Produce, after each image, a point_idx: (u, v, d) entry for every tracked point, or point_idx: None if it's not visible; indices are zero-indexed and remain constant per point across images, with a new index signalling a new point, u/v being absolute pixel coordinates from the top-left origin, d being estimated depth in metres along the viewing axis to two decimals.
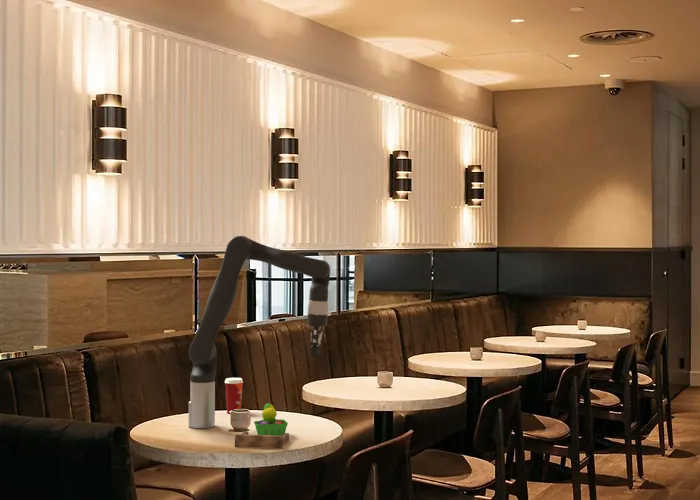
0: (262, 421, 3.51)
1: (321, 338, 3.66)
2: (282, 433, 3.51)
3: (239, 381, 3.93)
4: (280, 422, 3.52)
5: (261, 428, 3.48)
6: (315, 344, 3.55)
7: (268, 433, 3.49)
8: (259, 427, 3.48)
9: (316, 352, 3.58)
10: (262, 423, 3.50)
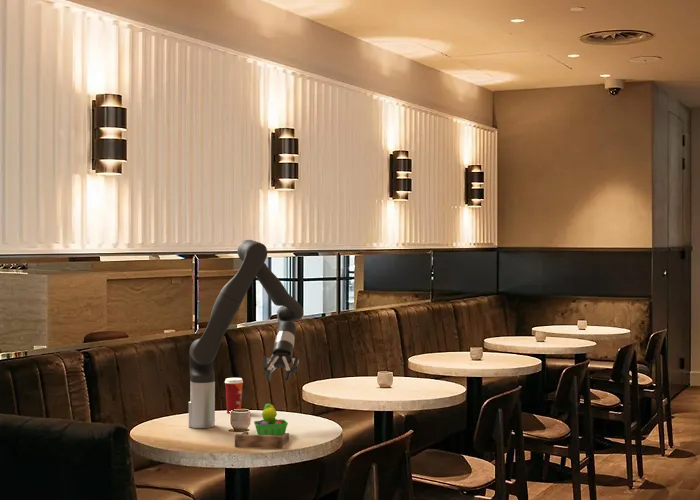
0: (262, 421, 3.51)
1: None
2: (282, 433, 3.51)
3: (239, 381, 3.93)
4: (280, 422, 3.52)
5: (261, 428, 3.48)
6: (295, 370, 3.67)
7: (268, 433, 3.49)
8: (259, 427, 3.48)
9: None
10: (262, 423, 3.50)
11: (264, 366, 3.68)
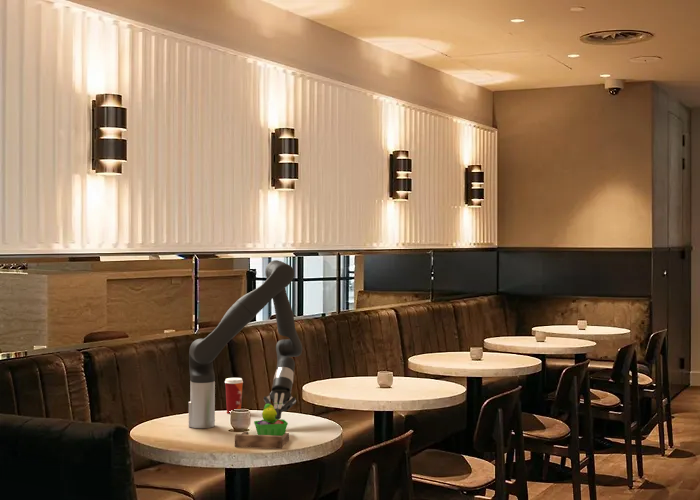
0: (262, 421, 3.51)
1: None
2: (282, 433, 3.51)
3: (239, 381, 3.93)
4: (280, 422, 3.52)
5: (261, 428, 3.48)
6: (286, 409, 3.66)
7: (268, 433, 3.49)
8: (259, 427, 3.48)
9: None
10: (262, 423, 3.50)
11: None
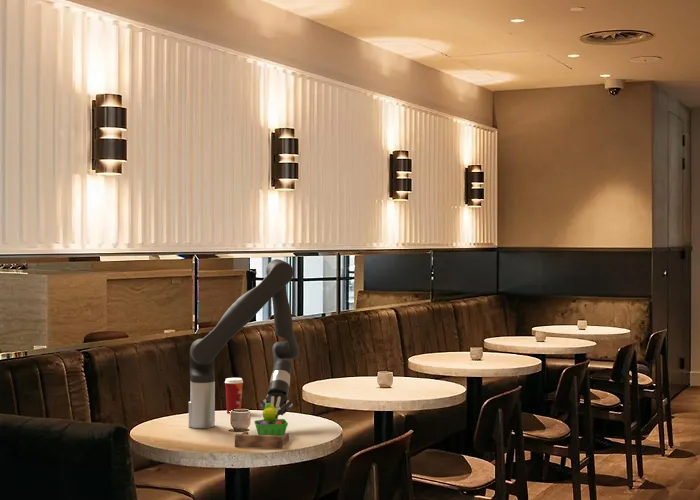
0: (262, 421, 3.50)
1: None
2: (282, 433, 3.50)
3: (239, 381, 3.93)
4: (280, 422, 3.52)
5: (261, 428, 3.48)
6: (283, 412, 3.60)
7: (268, 433, 3.49)
8: (259, 427, 3.47)
9: None
10: (262, 423, 3.50)
11: None
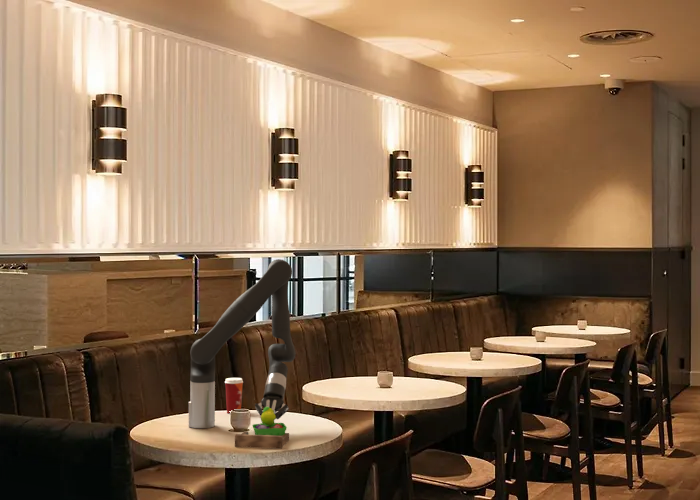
0: (260, 425, 3.43)
1: None
2: None
3: (239, 381, 3.93)
4: (279, 426, 3.45)
5: (259, 432, 3.41)
6: (278, 416, 3.52)
7: None
8: (257, 431, 3.40)
9: None
10: (260, 427, 3.43)
11: (262, 412, 3.52)
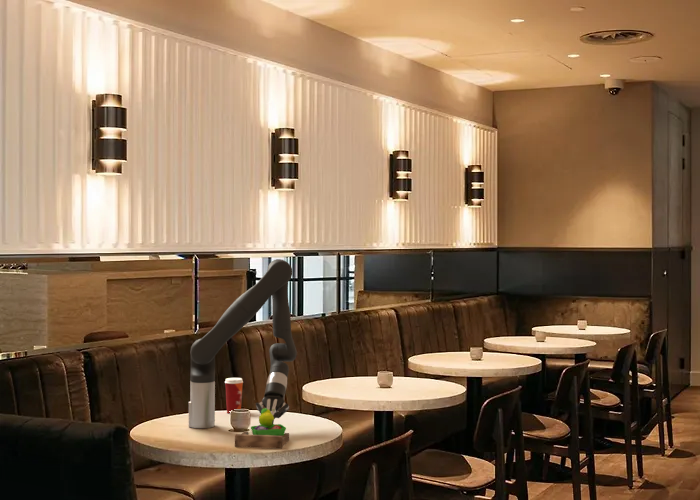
0: (260, 426, 3.41)
1: None
2: None
3: (239, 381, 3.93)
4: (278, 427, 3.43)
5: (259, 433, 3.39)
6: (279, 415, 3.54)
7: None
8: (257, 432, 3.39)
9: None
10: (260, 428, 3.41)
11: None
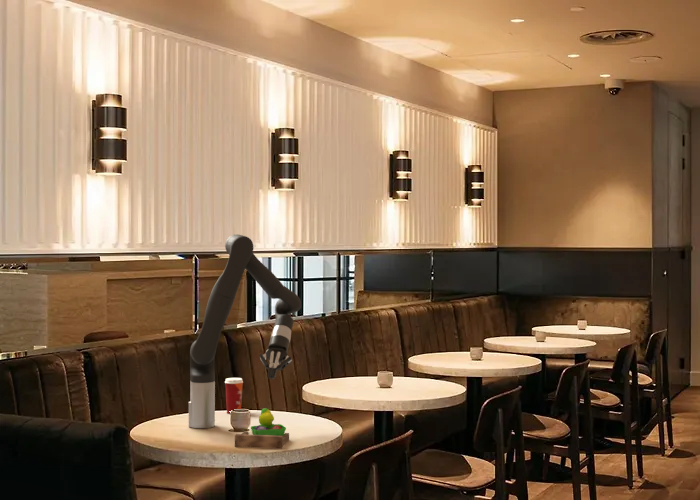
0: (260, 426, 3.41)
1: None
2: None
3: (239, 381, 3.93)
4: (278, 427, 3.43)
5: (259, 433, 3.39)
6: (281, 368, 3.63)
7: None
8: (257, 432, 3.39)
9: None
10: (260, 428, 3.41)
11: (266, 363, 3.63)
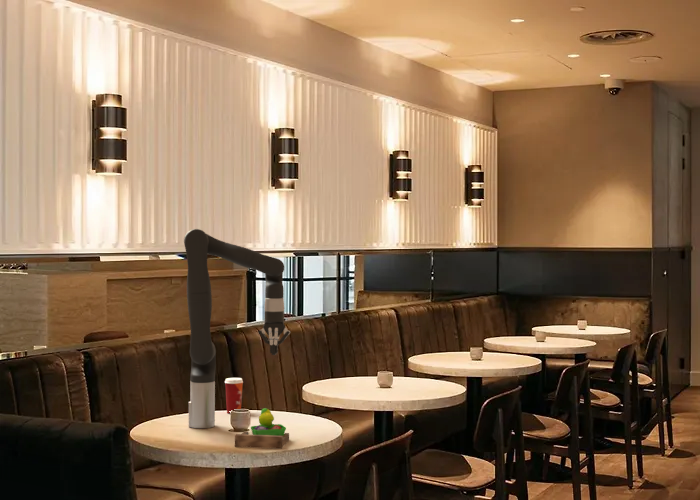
0: (260, 426, 3.41)
1: (272, 336, 3.74)
2: None
3: (239, 381, 3.93)
4: (278, 427, 3.43)
5: (259, 433, 3.39)
6: None
7: None
8: (257, 433, 3.39)
9: None
10: (260, 428, 3.41)
11: (266, 340, 3.71)
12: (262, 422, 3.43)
